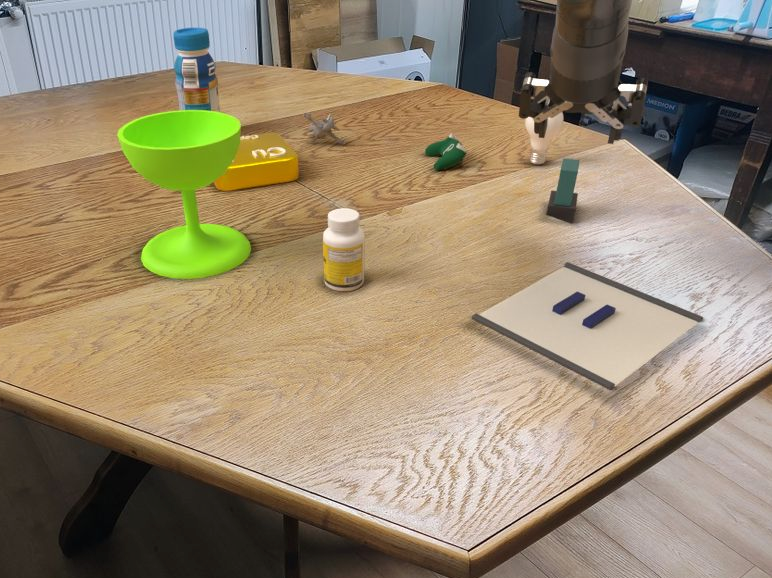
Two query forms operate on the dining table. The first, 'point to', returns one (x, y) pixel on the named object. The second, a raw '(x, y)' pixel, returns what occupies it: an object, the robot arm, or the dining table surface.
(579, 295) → the bar
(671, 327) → the whiteboard
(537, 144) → the lightbulb
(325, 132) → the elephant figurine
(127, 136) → the wineglass
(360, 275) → the supplement bottle
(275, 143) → the element tile
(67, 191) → the dining table surface
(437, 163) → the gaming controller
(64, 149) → the dining table surface
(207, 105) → the beverage bottle
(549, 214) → the eraser
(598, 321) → the bar
